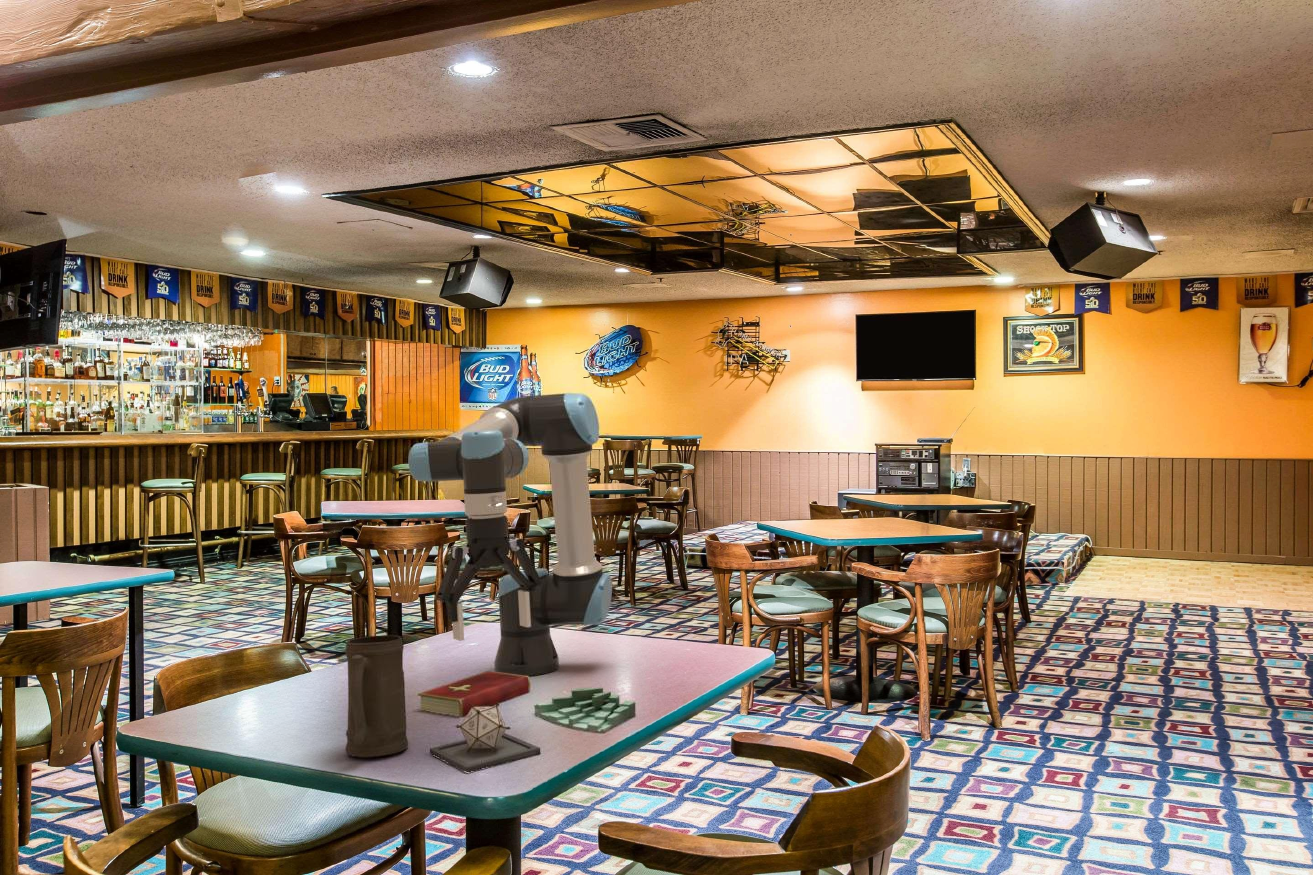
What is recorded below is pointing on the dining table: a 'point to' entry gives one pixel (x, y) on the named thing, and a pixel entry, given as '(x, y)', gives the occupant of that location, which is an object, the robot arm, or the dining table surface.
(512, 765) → the dining table surface
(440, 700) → the hardcover book
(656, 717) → the dining table surface
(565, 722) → the green curved brick section
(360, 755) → the beer stein
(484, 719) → the game die
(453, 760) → the mat
